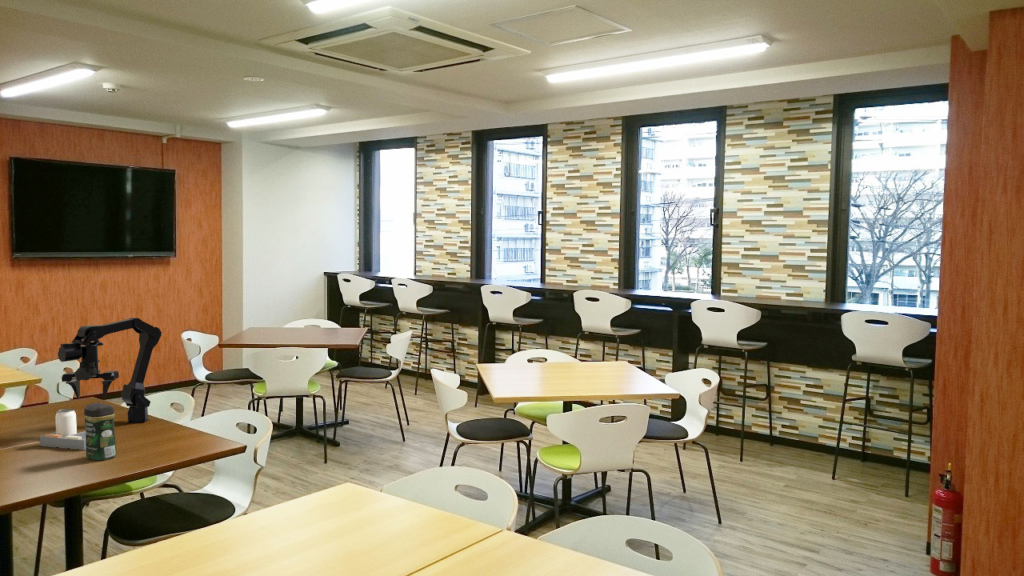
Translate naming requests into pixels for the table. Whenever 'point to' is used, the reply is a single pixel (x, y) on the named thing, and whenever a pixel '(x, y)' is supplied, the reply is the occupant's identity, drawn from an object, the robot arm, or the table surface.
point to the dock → (64, 441)
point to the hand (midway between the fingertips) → (91, 398)
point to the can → (66, 422)
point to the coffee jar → (99, 431)
